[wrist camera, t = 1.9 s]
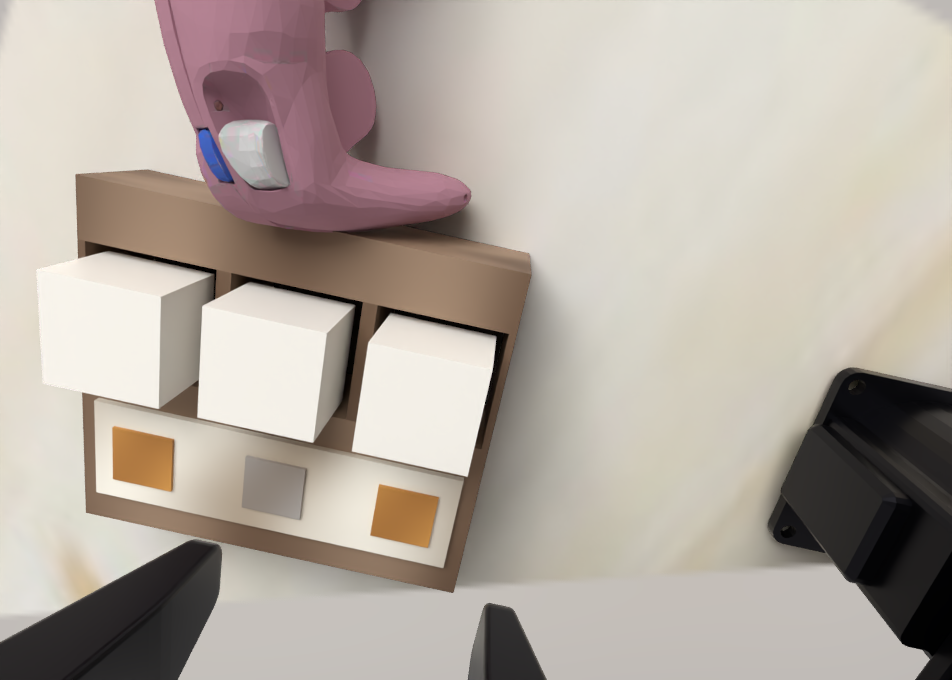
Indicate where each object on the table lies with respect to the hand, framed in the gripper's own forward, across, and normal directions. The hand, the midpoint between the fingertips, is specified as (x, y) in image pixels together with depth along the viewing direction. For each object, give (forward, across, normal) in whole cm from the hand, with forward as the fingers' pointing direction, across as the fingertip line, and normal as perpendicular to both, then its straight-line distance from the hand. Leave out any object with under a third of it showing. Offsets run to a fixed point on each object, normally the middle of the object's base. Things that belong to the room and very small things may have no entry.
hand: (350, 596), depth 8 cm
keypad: (+11, +4, +2) cm, 12 cm away
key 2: (+8, 0, 0) cm, 8 cm away
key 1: (+8, +8, 0) cm, 12 cm away
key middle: (+9, +4, 0) cm, 9 cm away
